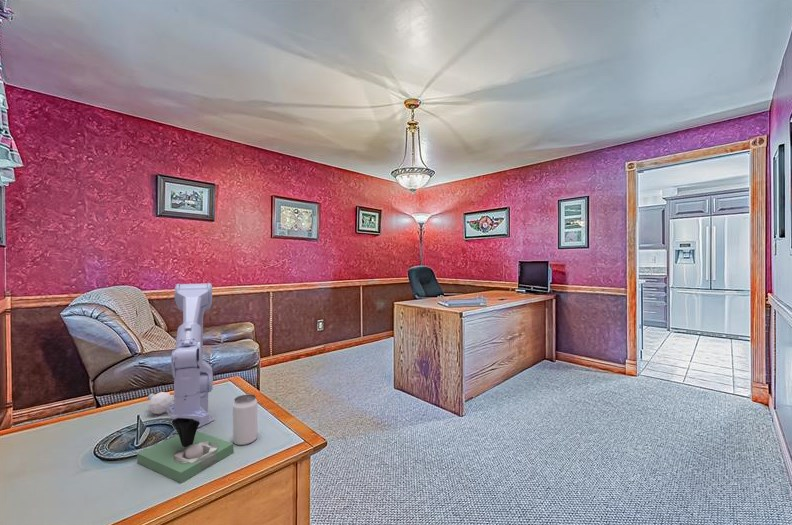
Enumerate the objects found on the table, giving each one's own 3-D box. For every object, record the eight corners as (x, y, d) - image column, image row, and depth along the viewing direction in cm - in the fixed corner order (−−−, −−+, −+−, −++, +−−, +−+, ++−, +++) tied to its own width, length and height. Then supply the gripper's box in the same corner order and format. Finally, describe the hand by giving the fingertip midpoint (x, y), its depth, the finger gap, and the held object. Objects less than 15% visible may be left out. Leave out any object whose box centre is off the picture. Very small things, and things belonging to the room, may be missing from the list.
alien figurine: (182, 416, 119) (157, 400, 122) (187, 398, 118) (162, 382, 121) (161, 426, 112) (136, 409, 115) (166, 407, 111) (140, 390, 114)
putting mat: (137, 462, 88) (137, 453, 88) (190, 437, 101) (190, 428, 101) (181, 483, 80) (181, 472, 80) (233, 452, 93) (233, 443, 93)
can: (248, 447, 95) (248, 403, 95) (227, 444, 97) (227, 401, 96) (262, 435, 102) (261, 394, 101) (242, 433, 103) (242, 392, 103)
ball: (191, 449, 86) (190, 466, 86) (207, 443, 90) (206, 459, 89) (182, 445, 88) (181, 462, 88) (198, 440, 92) (196, 455, 91)
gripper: (154, 393, 89) (154, 445, 90) (189, 403, 83) (190, 460, 83) (181, 384, 96) (182, 433, 96) (216, 393, 89) (216, 445, 90)
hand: (187, 444), depth 90 cm, fingers closed
